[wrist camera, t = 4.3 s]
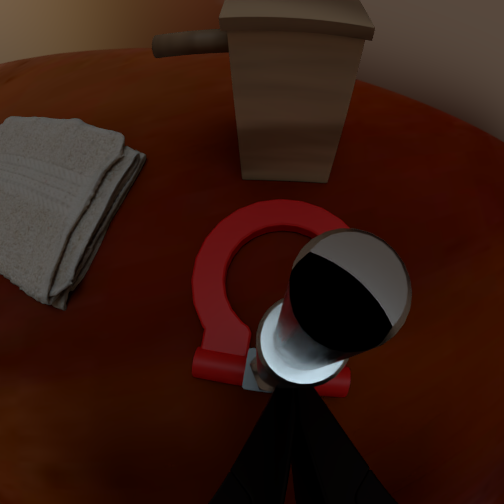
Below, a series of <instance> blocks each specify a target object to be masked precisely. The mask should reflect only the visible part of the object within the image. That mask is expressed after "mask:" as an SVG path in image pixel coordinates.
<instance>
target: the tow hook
mask: <svg viewBox="0 0 504 504" xmlns="http://www.w3.org/2000/svg"><path fill="white" fill-rule="evenodd" d="M275 231H290V232H297V233H300V234H303V235H306V236H309V237H310V238H312V240H311V241H310V242H309V243H308V244H306V245H305V246H304V247H303V248H302V249H301V251H300V253H299V255H298V256H297V258H296V260H295V261H294V264H293V268H292V271H291V275H290V279H289V283H288V286H287V290H286V293H285V297H284V298H283V299H281V300H279V301H277V302H276V303H274V304H273V305H272V306H271V307H270V308H269V309H268V310H267V311H266V313H265V314H264V316H263V317H262V319H261V321H260V323H259V326H258V330H257V333H256V349H255V348H250V349H249V347H250V341H251V335H252V334H251V331H250V329H249V327H248V326H247V325H246V324H244V323H243V322H242V321H241V320H240V319H239V317H238V316H237V315H236V314H235V312H234V311H233V310H232V308H231V306H230V303H229V301H228V299H227V293H226V285H225V283H226V277H227V270H228V268H229V266H230V263H231V261H232V259H233V257H234V256H235V254H236V253H237V252H238V251H239V250H240V248H241V247H242V246H243V245H245V244H246V243H247V242H249V241H250V240H251V239H253V238H255V237H257V236H260V235H262V234H265V233H268V232H275ZM191 282H192V293H193V304H194V306H195V309H196V312H197V314H198V317H199V319H200V322H201V324H202V327H203V328H204V333H203V338H202V343H201V347H198V348H197V349H196V352H195V354H194V358H193V363H192V375H193V377H196V378H201V379H206V380H211V381H216V382H221V383H227V384H233V385H238V386H242V387H243V388H244V389H246V390H253V391H260V392H267V393H273V391H274V389H275V387H278V388H313V387H314V388H315V389H316V391H317V392H318V394H319V395H320V396H329V397H343V398H344V397H346V395H347V393H348V390H349V386H350V380H351V373H350V368H349V367H346V363H347V361H348V359H349V358H350V357H352V356H355V355H358V354H360V353H363V352H365V351H368V350H370V349H373V348H375V347H378V346H380V345H382V344H384V343H385V342H387V341H388V340H389V339H391V338H392V337H393V336H395V334H396V333H397V332H398V331H399V329H400V328H401V327H402V325H403V324H404V322H405V320H406V317H407V315H408V312H409V310H410V305H411V296H412V291H411V283H410V277H409V275H408V272H407V269H406V267H405V264H404V262H403V261H402V260H401V258H400V257H399V255H398V254H397V252H396V251H395V250H394V249H393V248H392V247H391V246H390V245H389V244H387V243H386V242H385V241H384V240H383V239H381V238H379V237H377V236H375V235H374V234H372V233H369V232H366V231H362V230H359V229H351V228H349V227H348V226H347V225H346V224H345V223H344V222H343V221H342V220H341V219H340V218H338V217H336V216H335V215H333V214H331V213H330V212H328V211H327V210H325V209H323V208H321V207H318V206H315V205H312V204H309V203H306V202H303V201H297V200H286V199H275V200H267V201H260V202H256V203H253V204H251V205H248V206H245V207H243V208H240V209H238V210H236V211H235V212H233V213H232V214H230V215H229V216H227V217H226V218H225V219H223V220H222V221H220V222H219V223H218V224H217V226H216V227H215V228H214V229H213V230H212V231H211V232H210V234H209V235H208V236H207V237H206V238H205V240H204V242H203V244H202V246H201V248H200V250H199V252H198V254H197V256H196V258H195V264H194V269H193V274H192V280H191Z"/></svg>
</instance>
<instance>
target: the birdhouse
mask: <svg viewBox="0 0 504 504" xmlns="http://www.w3.org/2000/svg"><path fill="white" fill-rule="evenodd" d="M219 24H220V29H211V30H198V31H187V32H178V33H170V34H162V35H156V36H154V38H153V41H152V51H153V54H154V56H155V58H162V57H170V56H180V55H191V54H205V53H224V52H229V56H230V66H231V76H232V85H233V95H234V105H235V114H236V124H237V133H238V143H239V153H240V162H241V172H242V179H246V180H279V181H301V182H319V183H327V181H328V178H329V175H330V171H331V168H332V164H333V161H334V157H335V154H336V150H337V147H338V143H339V140H340V136H341V133H342V129H343V125H344V122H345V118H346V114H347V111H348V107H349V103H350V99H351V95H352V91H353V88H354V84H355V80H356V76H357V72H358V67H359V63H360V59H361V55H362V51H363V46H364V42H365V40H371V41H372V38H373V35H374V30H375V27H374V25H373V24H372V22H371V20H370V18H369V16H368V14H367V12H366V11H365V9H364V7H363V6H362V4H361V2H360V1H359V0H225V1H224V5H223V7H222V10H221V14H220V16H219Z"/></svg>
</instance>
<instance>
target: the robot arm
mask: <svg viewBox="0 0 504 504" xmlns="http://www.w3.org/2000/svg"><path fill="white" fill-rule="evenodd" d="M290 464H291V465H292V474H293V483H294V492H295V501H296V504H398V503H397V502H396V501H395V500H394V498H393V497H392V496H391V495H390V494H389V493H388V492H387V490H386V489H385V488H384V486H383V485H382V484H381V483H380V481H379V480H378V479H377V477H376V476H375V474H374V473H373V472H372V470H369V466H368V465H367V463H366V462H365V460H364V459H363V458H362V456H361V455H360V453H359V452H358V450H357V449H356V448H355V446H354V445H353V443H352V442H351V440H350V439H349V438H348V436H347V435H346V433H345V432H344V430H343V429H342V427H341V426H340V425H339V423H338V422H337V420H336V419H335V417H334V416H333V414H332V413H331V411H330V410H329V409H328V407H327V406H326V404H325V403H324V401H323V400H322V398H321V397H320V395H319V394H318V392H317V391H316V389H315V388H314V387H313V388H278V387H275V389H274V391H273V393H272V395H271V397H270V399H269V401H268V402H267V404H266V406H265V408H264V410H263V412H262V414H261V416H260V418H259V420H258V422H257V423H256V425H255V427H254V429H253V431H252V433H251V435H250V436H249V438H248V440H247V442H246V444H245V445H244V447H243V449H242V451H241V453H240V454H239V456H238V458H237V460H236V461H235V463H234V465H233V467H232V468H231V470H230V472H229V473H228V475H227V476H226V478H225V480H224V482H223V483H222V485H221V486H220V488H219V489H218V491H217V492H216V494H215V495H214V497H213V498H212V499H211V501H210V502H209V503H208V504H284V501H285V495H286V489H287V483H288V477H289V471H290Z"/></svg>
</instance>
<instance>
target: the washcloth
mask: <svg viewBox="0 0 504 504" xmlns="http://www.w3.org/2000/svg"><path fill="white" fill-rule="evenodd" d="M124 140H125V138H124V136H123V135H122V134H121V133H118V132H115V131H113V130H106V129H102V128H97V127H95V126H93V125H89V124H86V123H84V122H83V121H82V120H80V119H77V118H72V119H68V120H67V119H51V118H45V117H40V118H39V117H27V118H26V117H14V116H11V117H9V118H7V119H6V120H5V121H4V123H3V124H1V125H0V273H1V275H3V276H4V277H5V278H7V279H10V281H11V282H12V283H13V284H15V285H17V286H19V287H20V290H23V291H24V292H25V293H26V294H27V295H29V296H32V297H33V298H34V299H36V301H40V302H41V303H42V304H47V305H51V304H52V306H53V307H55V308H60V309H62V310H66V309H67V305H66V301H67V299H68V293H69V292H70V291H73V290H74V289H75V288H76V286H77V285H78V284H79V283H80V281H81V280H82V279H83V278H84V276H85V274H86V272H87V270H88V269H89V266H90V264H91V262H92V260H93V258H94V257H95V255H96V253H97V251H98V249H99V247H100V245H101V242H102V240H103V238H104V235H105V233H106V231H107V228H108V226H109V224H110V222H111V220H112V218H113V217H114V215H115V213H116V212H117V210H118V209H119V207H120V205H121V204H122V202H123V200H124V198H125V197H126V195H127V193H128V191H129V189H130V187H131V186H132V185H133V182H134V181H135V179H136V177H137V175H138V174H139V172H140V170H141V168H142V166H143V164H144V162H145V160H146V155H145V154H144V153H140V152H139V151H137V150H135V151H134V150H133V149H131V148H130V147H128V146H124V145H125V144H124Z"/></svg>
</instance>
